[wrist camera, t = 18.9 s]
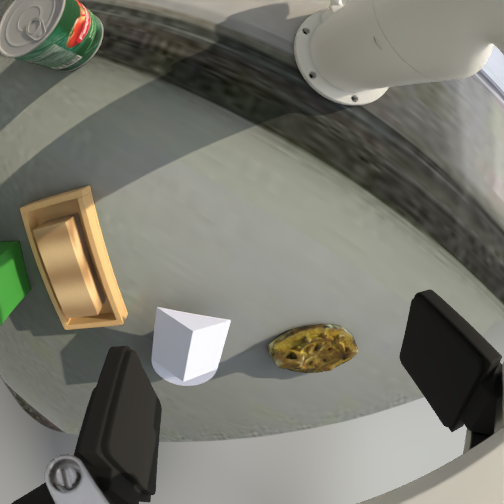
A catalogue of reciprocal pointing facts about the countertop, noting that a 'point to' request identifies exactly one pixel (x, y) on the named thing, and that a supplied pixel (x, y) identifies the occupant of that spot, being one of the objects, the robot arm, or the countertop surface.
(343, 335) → the yellow-brown textured oval
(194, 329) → the wedge on round base
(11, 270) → the hardback book
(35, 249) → the holder
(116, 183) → the countertop surface
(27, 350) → the countertop surface
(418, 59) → the robot arm
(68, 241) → the eraser
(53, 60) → the canned tomato
